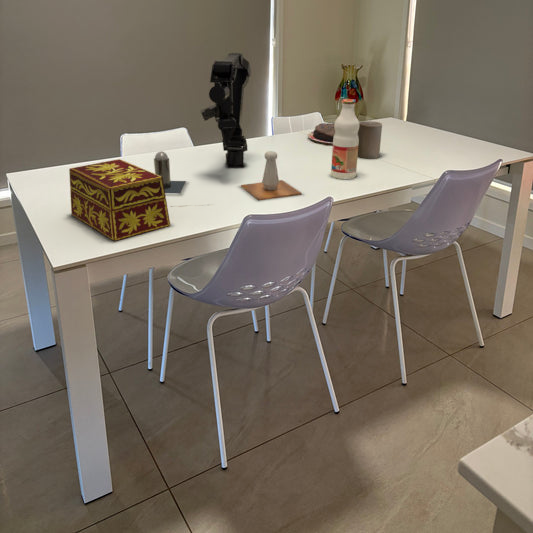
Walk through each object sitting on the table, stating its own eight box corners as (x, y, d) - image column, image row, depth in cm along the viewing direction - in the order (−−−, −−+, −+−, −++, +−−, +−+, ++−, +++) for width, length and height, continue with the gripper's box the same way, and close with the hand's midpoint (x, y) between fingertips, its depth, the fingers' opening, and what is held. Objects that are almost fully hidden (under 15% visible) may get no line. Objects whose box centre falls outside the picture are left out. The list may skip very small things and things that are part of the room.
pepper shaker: (170, 184, 209) (168, 149, 204) (170, 188, 204) (168, 153, 199) (156, 184, 208) (153, 150, 203) (155, 189, 204) (153, 154, 198)
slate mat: (186, 182, 213) (186, 181, 212) (180, 195, 200) (180, 193, 200) (147, 181, 213) (147, 180, 213) (139, 194, 200) (139, 192, 200)
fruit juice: (357, 179, 218) (363, 102, 206) (332, 179, 218) (336, 102, 206) (354, 172, 226) (360, 97, 214) (329, 172, 226) (334, 97, 214)
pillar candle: (353, 157, 246) (356, 121, 240) (359, 152, 254) (362, 116, 248) (376, 160, 243) (380, 123, 236) (381, 154, 251) (385, 118, 244)
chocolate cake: (371, 146, 263) (373, 132, 260) (309, 146, 263) (310, 131, 260) (363, 132, 288) (364, 119, 285) (306, 131, 288) (306, 118, 285)
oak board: (281, 181, 215) (281, 180, 215) (301, 194, 202) (301, 192, 201) (241, 186, 209) (240, 185, 209) (258, 200, 196) (258, 198, 196)
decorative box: (70, 214, 182) (64, 167, 175) (124, 202, 193) (120, 157, 187) (114, 241, 163) (108, 189, 157) (170, 225, 174) (167, 176, 168)
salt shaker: (258, 188, 206) (258, 151, 200) (271, 185, 209) (271, 148, 203) (269, 192, 202) (270, 155, 196) (282, 189, 205) (282, 152, 199)
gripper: (200, 94, 214) (201, 137, 221) (202, 103, 198) (204, 149, 204) (230, 93, 216) (231, 136, 223) (235, 102, 199) (236, 148, 206)
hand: (225, 142), depth 214 cm, fingers open, 9 cm apart
